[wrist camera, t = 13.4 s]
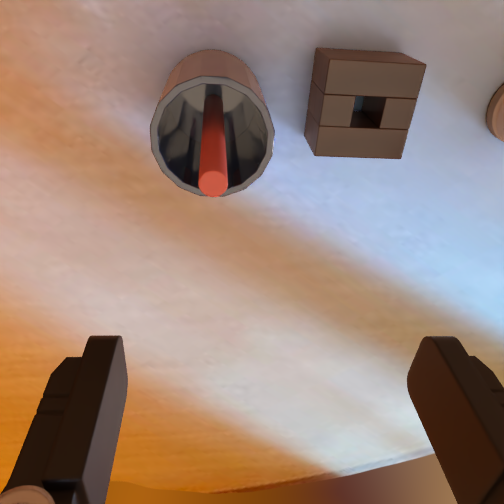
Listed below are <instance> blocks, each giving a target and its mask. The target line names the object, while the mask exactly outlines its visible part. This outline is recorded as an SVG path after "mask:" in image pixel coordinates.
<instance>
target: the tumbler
mask: <svg viewBox="0 0 504 504" xmlns="http://www.w3.org/2000/svg"><path fill="white" fill-rule="evenodd" d="M209 95H217V96H219V97H220V98H221V99H222V102H223V113H224V129H225V145H226V160H227V176H228V187H227V189H226V191H225V192H224V193H223V194H222V195H220V197H223V196H227V195H230V194H233V193H235V192H238V191H241V190H244V189H246V188H247V187H248V186H249V185H250V184H252V183H253V182H254V181H255V180H256V179H258V178H259V177H260V176H261V175H262V174H263V172H264V170H265V168H266V166H267V164H268V163H269V161H270V159H271V157H272V154H273V146H274V136H275V130H274V127H273V124H272V121H271V117H270V114H269V111H268V108H267V105H266V103H265V100H264V97H263V95H262V92H261V89H260V87H259V84H258V81H257V79H256V76H255V75H254V74H253V72H252V71H251V70H250V68H249V67H248V66H247V65H246V64H245V63H244V62H243V61H242V60H240V59H239V58H238V57H236V56H234V55H232V54H230V53H228V52H225V51H221V50H202V51H198V52H195V53H193V54H191V55H188V56H187V57H185V58H184V59H183V60H181V61H180V62H179V63H178V64H177V65H176V67H175V68H174V69H173V70H172V71H171V73H170V75H169V78H168V80H167V83H166V85H165V87H164V90H163V92H162V95H161V97H160V100H159V102H158V105H157V108H156V110H155V113H154V116H153V119H152V122H151V124H150V137H151V150H152V153H153V155H154V157H155V159H156V161H157V163H158V165H159V167H160V169H161V171H162V172H163V173H164V174H165V175H166V176H167V177H168V178H170V179H171V180H172V181H173V182H174V183H175V184H176V185H177V186H178V187H180V188H182V189H184V190H187V191H189V192H192V193H194V194H197V195H199V196H207V195H205V194H204V193H202V192H201V190H200V188H199V185H198V180H199V166H200V153H201V139H202V125H203V111H204V101H205V99H206V97H208V96H209Z"/></svg>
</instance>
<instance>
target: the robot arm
mask: <svg viewBox="0 0 504 504" xmlns="http://www.w3.org/2000/svg"><path fill="white" fill-rule="evenodd" d="M127 386H128V376H127V368H126V361H125V354H124V347H123V340H122V337H121V336H90V337H89V339H88V341H87V344H86V347H85V350H84V353H83V356H82V357H66V358H65V359H64V361H63V362H62V363H61V364H60V365H59V366H58V367H57V368H56V369H55V370H54V372H53V373H52V374H51V376H50V378H49V381H48V383H47V386H46V388H45V391H44V393H43V398H41V401H40V403H39V406H38V408H37V414H36V415H35V416H34V419H33V421H32V424H31V426H30V429H29V431H28V434H27V436H26V439H25V441H24V444H23V446H22V449H21V451H20V454H19V456H18V459H17V461H16V464H15V467H14V469H13V472H12V474H11V477H10V479H9V481H8V483H7V485H6V486H5V488H4V490H3V491H2V492H1V494H0V504H105V500H106V495H107V490H108V486H109V481H110V476H111V471H112V466H113V461H114V456H115V451H116V446H117V441H118V436H119V431H120V427H121V422H122V417H123V412H124V407H125V402H126V396H127ZM407 387H408V392H409V395H410V398H411V400H412V402H413V404H414V407H415V409H416V411H417V413H418V416H419V418H420V420H421V422H422V425H423V427H424V429H425V431H426V434H427V436H428V438H429V440H430V442H431V445H432V447H433V449H434V451H435V454H436V456H437V458H438V460H439V462H440V465H441V467H442V469H443V471H444V474H445V476H446V478H447V481H448V483H449V485H450V487H451V490H452V492H453V494H454V496H455V498H456V501H457V503H458V504H504V388H503V386H502V385H501V383H500V382H499V380H498V379H497V377H496V376H495V374H494V373H493V371H492V370H490V369H489V368H488V367H487V366H486V365H485V364H483V363H482V362H481V361H480V360H479V359H478V358H477V357H475V356H469V355H468V354H467V352H466V351H465V349H464V347H463V346H462V344H461V343H460V341H459V340H458V339H457V338H455V337H453V336H426V337H424V338H423V339H422V341H421V343H420V346H419V348H418V351H417V353H416V355H415V358H414V360H413V362H412V365H411V367H410V370H409V372H408V376H407Z"/></svg>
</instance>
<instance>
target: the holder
mask: <svg viewBox="0 0 504 504" xmlns="http://www.w3.org/2000/svg"><path fill="white" fill-rule="evenodd" d="M425 69H426V64H424V63H422V62H420V61H418V60H416V59H414V58H412V57H410V56H407V55H405V54H403V53H396V52H379V51H363V50H347V49H330V48H316V51H315V59H314V66H313V73H312V81H311V88H310V95H309V102H308V110H307V117H306V125H305V132H304V137H305V139H306V140H307V142H308V144H309V146H310V148H311V150H312V152H313V154H314V156H329V157H357V158H385V159H401V157H402V153H403V150H404V146H405V142H406V139H407V135H408V131H409V130H408V129H409V128H410V124H411V120H412V117H413V113H414V109H415V106H416V102H417V98H418V95H419V91H420V87H421V84H422V80H423V76H424V73H425ZM356 96H365V97H364V102H363V106H362V111H353V108H354V103H355V98H356Z"/></svg>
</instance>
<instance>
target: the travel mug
mask: <svg viewBox="0 0 504 504" xmlns="http://www.w3.org/2000/svg"><path fill="white" fill-rule="evenodd" d="M487 125H488V128H489V130H490V132H491V133H492V134H493V135H494V136H495V137H496V138H498V139H500V140H501V141H503V142H504V85H503V86H502V87H501V88H500V89H499V90H498V91H497V92H496V94H495V95H494V97H493V98H492V100H491V102H490V105H489V107H488V112H487Z"/></svg>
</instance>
